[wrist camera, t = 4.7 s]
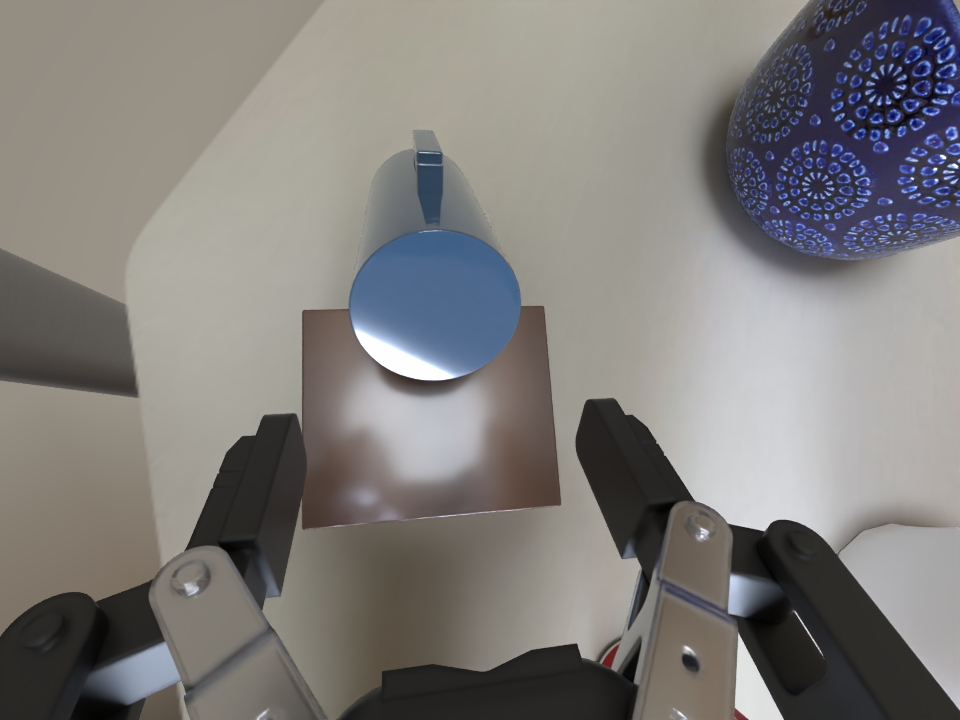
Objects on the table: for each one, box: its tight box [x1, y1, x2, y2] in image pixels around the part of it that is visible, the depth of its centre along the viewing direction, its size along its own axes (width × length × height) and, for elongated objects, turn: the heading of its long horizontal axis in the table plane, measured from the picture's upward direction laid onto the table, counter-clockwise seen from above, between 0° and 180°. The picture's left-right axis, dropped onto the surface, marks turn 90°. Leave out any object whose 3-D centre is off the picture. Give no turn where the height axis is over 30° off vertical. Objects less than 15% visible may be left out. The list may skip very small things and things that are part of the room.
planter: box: [726, 0, 960, 261], centre depth 25 cm, size 17×17×15 cm
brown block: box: [302, 306, 561, 530], centre depth 23 cm, size 12×10×5 cm
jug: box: [349, 130, 521, 381], centre depth 20 cm, size 6×13×13 cm, turn 4°
